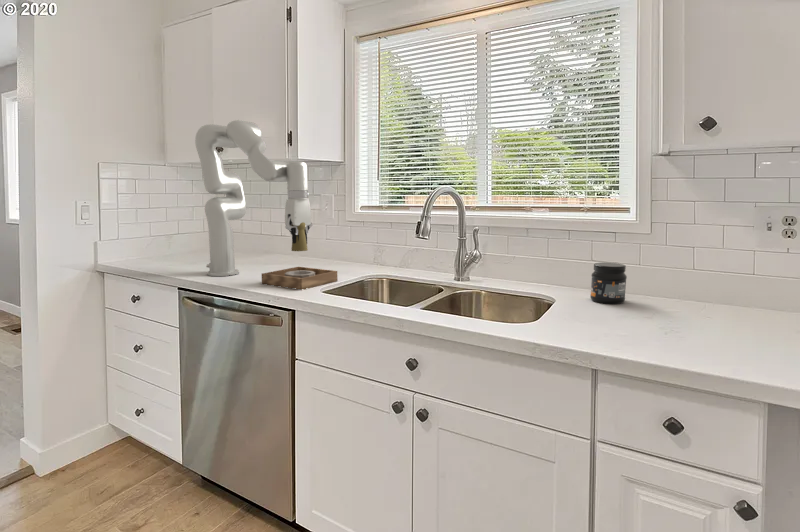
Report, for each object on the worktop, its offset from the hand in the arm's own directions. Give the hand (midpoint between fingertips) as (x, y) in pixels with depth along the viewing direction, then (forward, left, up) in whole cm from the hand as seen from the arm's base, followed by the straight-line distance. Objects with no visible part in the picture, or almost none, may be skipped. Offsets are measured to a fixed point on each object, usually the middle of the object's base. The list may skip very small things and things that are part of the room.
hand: (299, 244), depth 195 cm
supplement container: (+105, +30, -15) cm, 110 cm away
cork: (0, 0, -2) cm, 2 cm away
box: (0, 0, -15) cm, 15 cm away
